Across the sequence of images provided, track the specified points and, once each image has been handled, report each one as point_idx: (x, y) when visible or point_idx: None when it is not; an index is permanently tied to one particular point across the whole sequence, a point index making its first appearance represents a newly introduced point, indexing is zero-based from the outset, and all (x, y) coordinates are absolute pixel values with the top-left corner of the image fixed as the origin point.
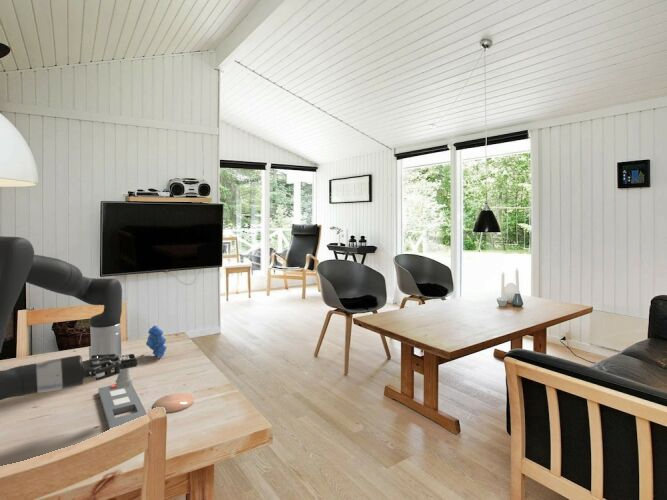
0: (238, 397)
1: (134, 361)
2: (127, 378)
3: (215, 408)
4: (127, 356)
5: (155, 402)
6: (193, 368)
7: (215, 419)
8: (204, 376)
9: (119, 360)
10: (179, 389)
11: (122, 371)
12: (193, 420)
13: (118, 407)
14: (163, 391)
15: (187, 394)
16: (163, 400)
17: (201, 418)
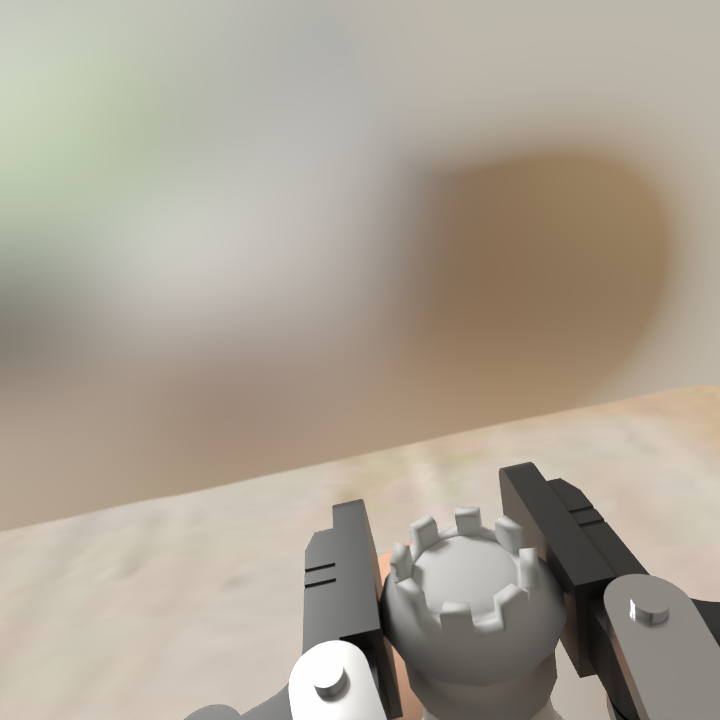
0: (475, 432)
1: (567, 485)
2: (556, 715)
3: None
4: (434, 529)
5: (408, 711)
6: (89, 554)
7: (656, 478)
8: (213, 517)
9: (530, 624)
10: (277, 601)
11: (550, 710)
12: (662, 542)
13: None
14: (246, 677)
15: (380, 560)
16: (399, 665)
17: (642, 517)
